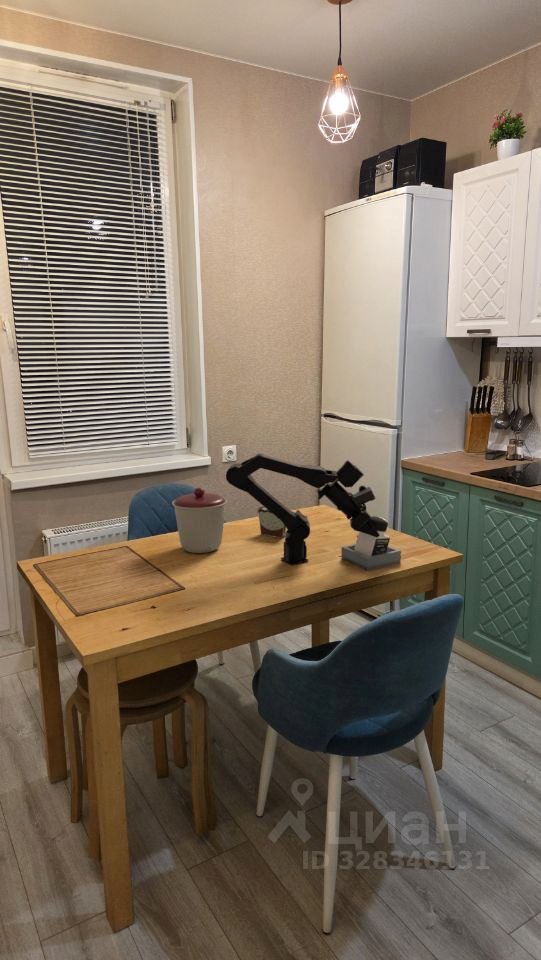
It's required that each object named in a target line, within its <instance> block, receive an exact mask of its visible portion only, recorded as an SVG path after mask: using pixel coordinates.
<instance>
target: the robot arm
mask: <svg viewBox="0 0 541 960" xmlns="http://www.w3.org/2000/svg"><path fill="white" fill-rule="evenodd" d="M260 469H263V470H268V471H271V472H274V473H278V474H282V475H285V476H289V477H292V478H295V479H297V480H298V479H299V480H300V481H302V482H303V483H305V484H307V485H309V486H312V487H313V488H315V489H317V490H316V491H317V498H318V500H321V499H322V498H323V497H325V498H327V500H329V501H330V502H331V503H332V504H333V505H334V506H335V507H336V510H337V511H338V512H339V511H340V512H341V513H342V514H343V515H344V516H345V517H346V518H347V520H349V525H350V527H351V529H352V530H354V532H358V533H359V532H362V533H366V534H369V535H371V536H374V537H379V536H380V535H379V533H378V532H377V530H376V529H375V528H374V526H373V525H372V524H371V522H370V520H371V517H372V516H371V515H370V514H369V512H368V511H367V505H366V503H369V502H372V501H374V500H376V496H375V494H374V492H373V490H372V488H371V487H370V486H367V487H366V486H365V485H360V486H358V491H356V493H355V494H353V493H352V492H348V490H346V489H345V488H347V489H348V488H353V486H355V485H356V483H358V482H359V481H360V479H362V478H363V477H364V476H365V473H363V471H361V470H360V468H359V467H358V466H357V465H355V464H354V463H352V462H351V461H350V460H349V459H347V460H346V461H345V462H344V463H343V464H342V465H341V467H340V468H338V470H330V469H325V468H324V467H323V466H320V465H311V464H306V465H305V464H297V463H295V462H290V461H287V460H283V459H279V458H275V457H272V456H269V455H268V456H267V455H265V454H263V453H257V454H255V455H253V457H251V458H248V459H246V460H244V461H242V462H241V463H233V464H231V465H230V466H229V468H228V469H227V471H226V474H225V479H226V481H227V483H228V484H230V485H231V486H233V487H235V488H236V489H238V490H240V491H242V492H246V493H248V495H250V497H252V498H253V499H254V500H256V501H257V502H258V503H259V504H260V505H261V506H264V507H265V508H267V509H268V510H269V511H270V512H271V513H273V514H274V515H275V516H276V517H277V518H279V519H280V520H281V521H282V522H283V524H284V525H285V527H286V532H285V537H284V541H283V557H280V560H281V561H284V562H285V563H287V564H289V565H291V566H293V565H297V564H302V563H307V562H309V559H308V558H307V557H308V556H307V555H308V554H307V552H308V550H307V544H306V539H308V538H309V537H310V534H311V524H310V522H309V520H308V516H306V515H305V514H303V513H302V512H301V511H300V510H299V509H296V511H295V512H294V511H292V510H290V509H289V508H287V507H286V506H285V505H284V504H282V502H280V501H279V500H278V499H277V498H276V497H274V496H273V495H272V494H271V493H270V492H269V491H267V490H266V489H265V488H264V487H263V486H261V484H259V483H258V482H257V481H256V480H255V478H254V477H253V476H252V474H254V473H255V472H257V471H259V470H260Z"/></svg>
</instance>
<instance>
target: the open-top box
mask: <svg viewBox="0 0 541 960" xmlns="http://www.w3.org/2000/svg"><path fill="white" fill-rule="evenodd" d="M355 545H356V543H354V544H349V545H344V546H341V560H343V561H344V562H348V563H350V564H352V565H355V566H356V567H359V568H360V569H362V570H364V571H372V570H376V569H377V570H378V569H381V568H385V567H391V566H395V565H398V564H401V560H402V559H401V557H402V556H401V554H402V551H401V550H400V549H398V548H395V547H392V546H390V545H388V547H387V551H386V553H383V554H378V555H374V556H369V557H368V556H366V555H363V554H361V553H359V552H356V551H355V550H354V548H355Z"/></svg>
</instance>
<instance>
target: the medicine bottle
mask: <svg viewBox="0 0 541 960" xmlns="http://www.w3.org/2000/svg"><path fill="white" fill-rule="evenodd" d="M370 517H371V520H370V522H371V524H372V525H373V526H374V528H375V529H376V530H377V532H378V533H379V535H380V536H379V537H374V536H371V535H369V534H366V533H362V532H359V531H358V535H357V538H356V542H355V544H356V545H355V548H354V550H355V551H356V552H359V553H361V554H363V555H366V556H368V557H369V556H374V555H378V554H383V553H386V551H387V547H388V546H389V545H390V544H389V543H390V540H391V536H389V535H387V534H386V532H387V529H388V526H389V521H388V520H387V519H385V518H384V517H379V516H374V515H373V516H370Z"/></svg>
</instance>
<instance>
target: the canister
mask: <svg viewBox="0 0 541 960" xmlns="http://www.w3.org/2000/svg"><path fill="white" fill-rule="evenodd" d="M227 503H228V500H227V498H225V497H224V496H222V495H219V494H216V493H208V492H206V491H205V489H204V488H203V487H196V488H195V489H193V493H187V494H184V495H181V496H180V495H179V496H178V497H177V498H176V499H174V500H173V501H172V502H171V504H172V507H174V515H175V519H176V525H177V531H178V532H177V533H178V537H179V543H180V546H181V548H182V549H183V550H185V551H186V552H189V553H192V554H207V553H211V552H215V551H216V550H218V549H220V546H221V544H222V540H223V533H224V523H225V510H226V504H227Z"/></svg>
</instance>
